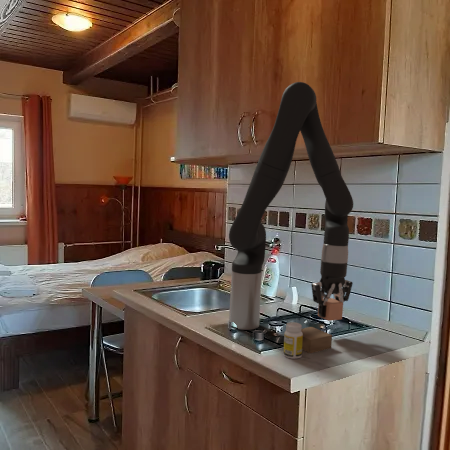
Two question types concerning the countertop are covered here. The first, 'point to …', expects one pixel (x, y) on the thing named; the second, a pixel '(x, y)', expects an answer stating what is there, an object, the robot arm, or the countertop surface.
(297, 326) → the supplement bottle
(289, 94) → the robot arm
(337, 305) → the terracotta cube
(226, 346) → the countertop surface
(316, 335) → the walnut block
